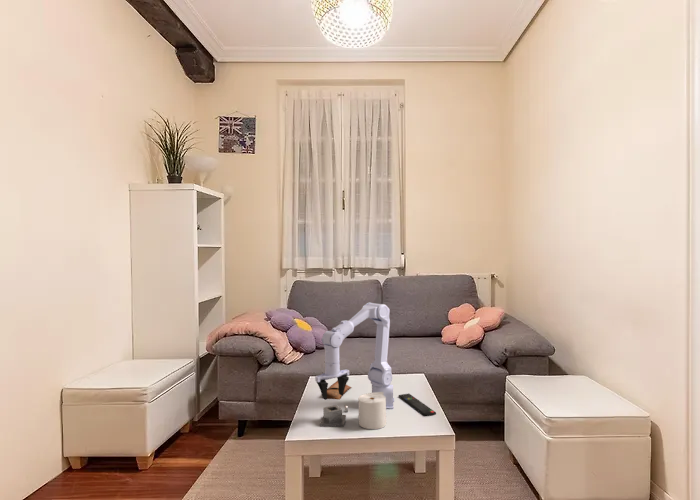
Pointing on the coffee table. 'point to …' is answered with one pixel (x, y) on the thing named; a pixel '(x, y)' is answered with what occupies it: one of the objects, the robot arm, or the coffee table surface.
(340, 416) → the grey stepped block
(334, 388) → the sunglasses case
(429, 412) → the remote control
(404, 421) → the coffee table surface
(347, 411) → the stand rod
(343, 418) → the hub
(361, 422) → the toilet tissue
